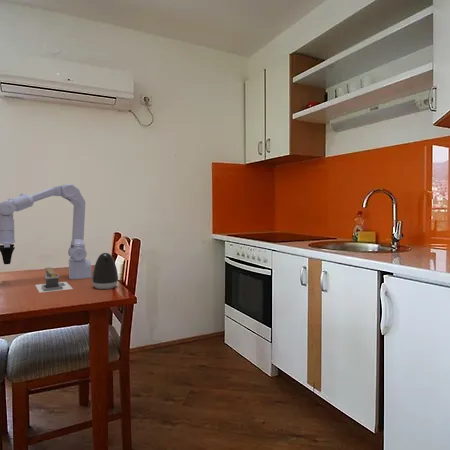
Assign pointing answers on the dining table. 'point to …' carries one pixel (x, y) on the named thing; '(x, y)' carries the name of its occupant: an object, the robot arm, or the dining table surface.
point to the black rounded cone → (105, 272)
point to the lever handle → (51, 272)
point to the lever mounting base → (43, 287)
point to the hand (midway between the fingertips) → (6, 262)
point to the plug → (51, 281)
